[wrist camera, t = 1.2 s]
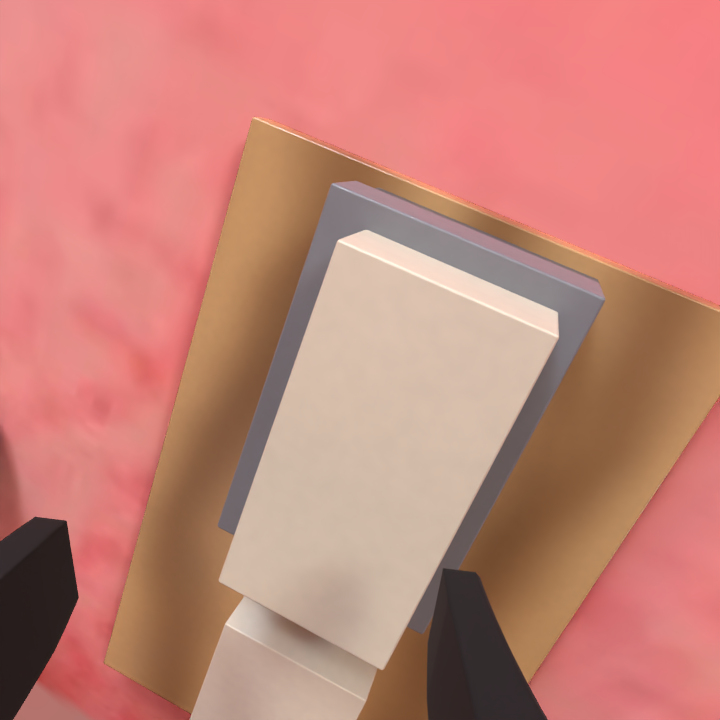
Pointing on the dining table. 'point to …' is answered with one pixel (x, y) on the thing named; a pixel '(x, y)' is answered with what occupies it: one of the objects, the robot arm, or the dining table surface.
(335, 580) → the cream book
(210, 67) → the dining table surface
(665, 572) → the dining table surface
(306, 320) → the grey stack
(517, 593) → the shelf board
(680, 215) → the dining table surface
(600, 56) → the dining table surface
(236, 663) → the cream stack
